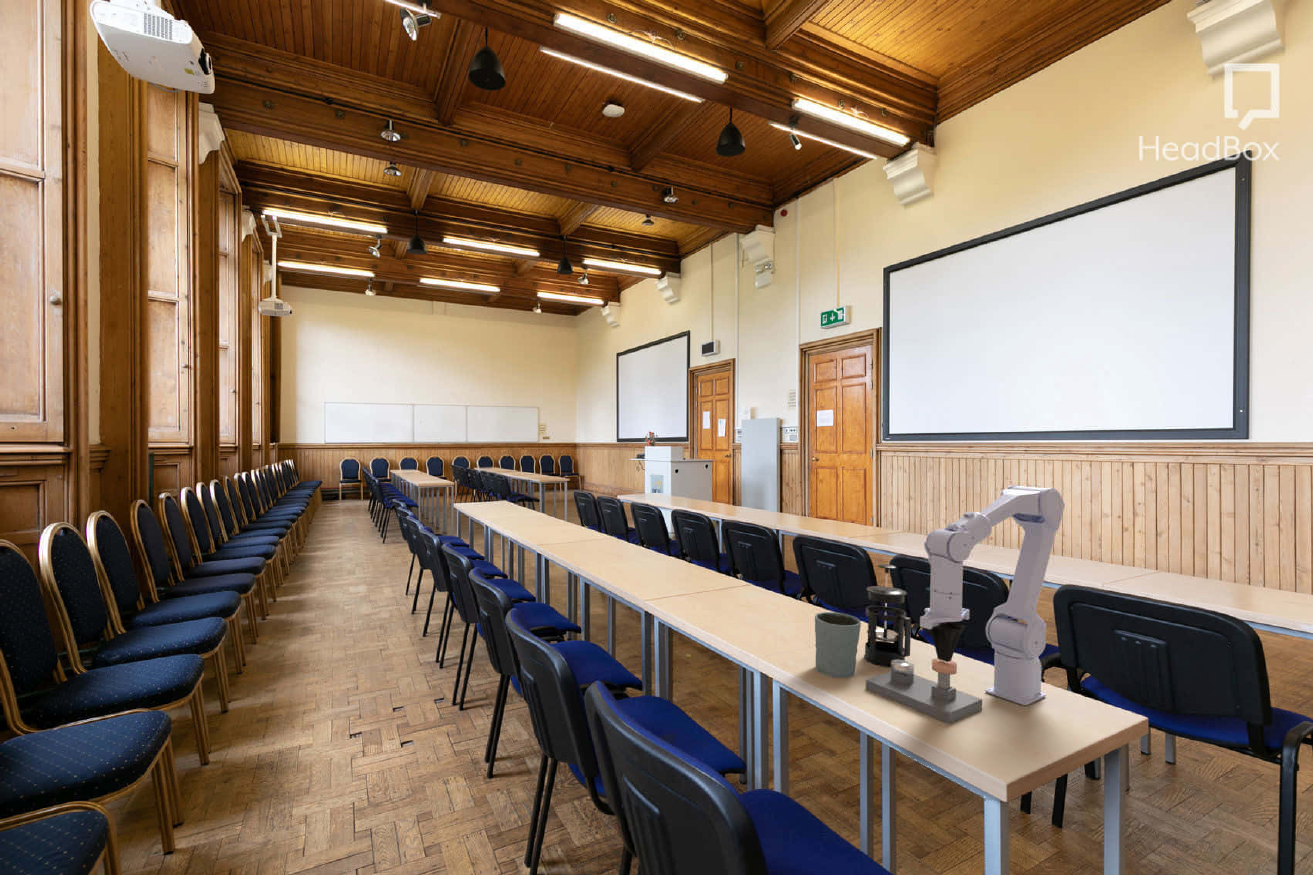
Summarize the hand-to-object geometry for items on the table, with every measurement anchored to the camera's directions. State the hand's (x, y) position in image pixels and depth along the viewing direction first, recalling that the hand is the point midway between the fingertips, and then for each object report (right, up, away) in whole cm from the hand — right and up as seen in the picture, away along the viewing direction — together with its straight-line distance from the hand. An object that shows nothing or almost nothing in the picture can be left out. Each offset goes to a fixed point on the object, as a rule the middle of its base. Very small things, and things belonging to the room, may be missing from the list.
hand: (944, 659), depth 117 cm
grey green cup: (-16, -9, +18) cm, 26 cm away
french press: (-2, -10, +25) cm, 27 cm away
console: (-3, -9, +4) cm, 10 cm away
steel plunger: (-5, -9, +7) cm, 13 cm away
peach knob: (0, -6, 0) cm, 6 cm away
